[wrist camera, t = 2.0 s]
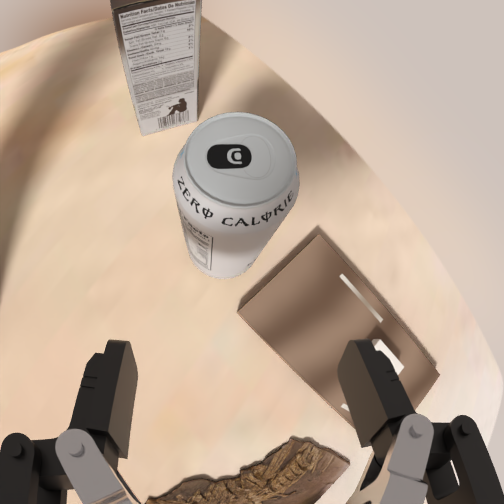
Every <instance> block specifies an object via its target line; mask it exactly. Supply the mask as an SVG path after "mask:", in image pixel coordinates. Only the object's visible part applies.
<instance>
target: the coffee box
mask: <svg viewBox="0 0 504 504" xmlns="http://www.w3.org/2000/svg"><path fill="white" fill-rule="evenodd" d="M110 2H111V9H112V14H113V21H114V25H115V30H116V35H117V40H118V45H119V49H120V54H121V58H122V63H123V67H124V71H125V75H126V79H127V83H128V87H129V91H130V95H131V99H132V102H133V106H134V110H135V113H136V117H137V121H138V124H139V128H140V131H141V134H142V136H145V135H148V134H152V133H155V132H159V131H162V130H166V129H170V128H173V127H177V126H181V125H185V124H189V123H193V122H197V121H198V83H199V53H200V28H201V8H202V0H110Z"/></svg>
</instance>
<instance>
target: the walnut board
mask: <svg viewBox="0 0 504 504" xmlns="http://www.w3.org/2000/svg"><path fill="white" fill-rule="evenodd" d="M237 313H238V314H239V315H240V316H241V317H242V318H243V319H244V321H245V322H246V323H247V324H248V325H249V326H250V327H251V328H252V329H253V330H254V331H255V332H256V333H257V334H258V335H259V336H260V337H261V338H262V339H263V340H264V341H265V342H266V343H267V344H268V345H269V346H270V347H271V348H272V349H273V350H274V351H275V352H276V353H277V354H278V355H279V356H280V357H281V358H282V359H283V360H284V361H285V362H286V363H287V364H288V365H289V366H290V367H291V368H292V369H293V370H294V371H295V372H296V373H297V374H298V375H299V376H300V377H301V378H302V379H303V380H304V381H305V382H306V383H307V384H308V385H309V386H310V387H311V388H312V389H313V390H314V391H315V392H316V393H317V394H318V395H319V396H320V397H321V398H322V399H323V400H325V401H326V402H327V403H328V404H329V405H330V406H331V407H332V408H333V409H334V410H335V411H336V412H337V413H338V414H339V415H340V416H342V417H343V418H344V419H345V420H346V421H347V422H348V423H349V424H350V425H351V426H352V427H353V428H355V426H354V423H353V420H352V417H351V414H350V411H349V408H348V406H347V403H346V400H345V397H344V394H343V391H342V388H341V385H340V383H339V380H338V375H337V368H338V364H339V362H340V360H341V357H342V355H343V353H344V351H345V348H346V346H347V344H348V342H349V341H350V340H356V339H366V338H368V339H370V340H371V341H372V340H373V339H380V340H381V341H382V342H383V343H384V344H385V345H386V346H387V348H388V349H389V350H390V351H391V352H392V353H393V354H394V356H395V357H396V358H397V359H398V360H399V361H400V362H401V364H402V365H403V366H404V368H403V369H402V371H401V372H400V373H399V375H398V377H399V381H401V383H402V385H403V387H404V389H405V391H406V393H407V395H408V397H409V399H410V402H411V404H412V406H413V408H414V410H415V409H416V408H417V407H418V405H419V404H420V403H421V401H422V400H423V399H424V397H425V396H426V394H427V393H428V392H429V390H430V389H431V387H432V386H433V384H434V383H435V382H436V380H437V379H438V377H439V376H440V374H439V373H438V371H437V370H436V369H435V368H434V366H433V365H432V364H431V363H430V361H429V360H428V359H427V357H426V356H425V355H424V354H423V352H422V351H421V350H420V349H419V347H418V346H417V345H416V344H415V343H414V341H413V340H412V339H411V338H410V336H409V335H408V334H407V333H406V332H405V330H404V329H403V328H402V327H401V326H400V324H399V323H398V322H397V321H396V320H395V318H394V317H393V316H392V315H391V314H390V312H389V311H388V310H387V309H386V308H385V307H384V305H383V304H382V303H381V302H380V301H379V300H378V298H377V297H376V296H375V295H374V294H373V293H372V292H371V290H370V289H369V288H368V287H367V286H366V285H365V284H364V282H363V281H362V280H361V279H360V278H359V277H358V276H357V275H356V273H355V272H354V271H353V270H352V269H351V268H350V267H349V266H348V265H347V264H346V262H345V261H344V260H343V259H342V258H341V257H340V256H339V255H338V254H337V253H336V251H335V250H334V249H333V248H332V247H331V246H330V245H329V244H328V243H327V242H326V241H325V240H324V239H323V238H322V236H321V235H320V234H318V235H317V236H316V237H315V238H314V239H313V240H312V241H311V242H310V243H309V244H308V245H307V246H306V247H305V248H304V249H303V250H302V251H301V252H300V253H299V254H298V255H297V256H296V257H294V258H293V259H292V260H291V261H290V262H289V263H288V264H287V265H286V266H285V267H284V268H283V269H282V270H281V271H280V272H279V273H278V274H277V275H276V276H275V277H274V278H273V279H272V280H271V281H270V282H269V283H267V284H266V285H265V286H264V287H263V288H262V289H261V290H260V291H259V292H258V293H257V294H256V295H255V296H254V297H253V298H252V299H251V300H250V301H248V302H247V303H246V304H245V305H244V306H243V307H242V308H241V309H240V310H239V311H238V312H237Z"/></svg>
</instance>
